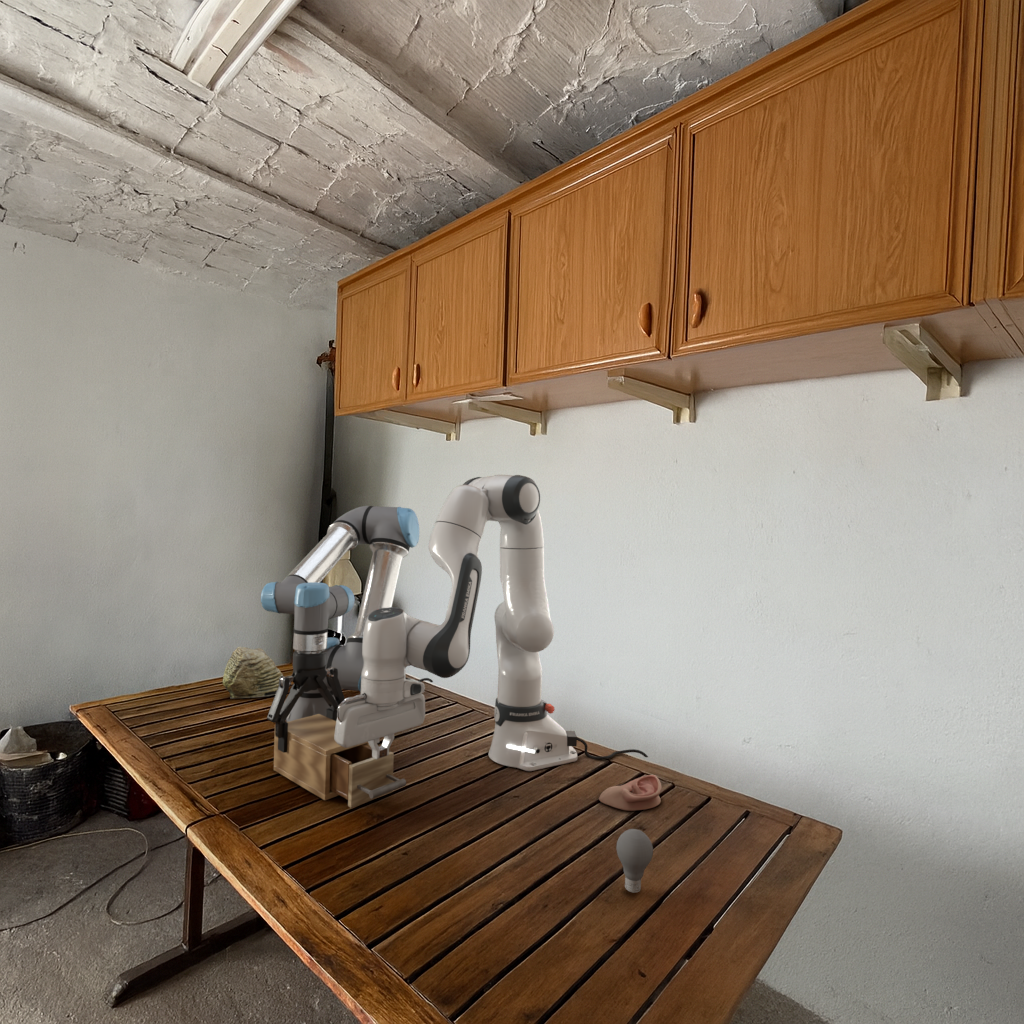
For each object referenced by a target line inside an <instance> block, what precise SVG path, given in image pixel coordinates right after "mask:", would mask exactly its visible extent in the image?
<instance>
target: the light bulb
mask: <svg viewBox="0 0 1024 1024" xmlns="http://www.w3.org/2000/svg"><path fill="white" fill-rule="evenodd" d="M615 849H616V854H617V857H618V859H619V861H620V863H621V865H622V867H623V873H624V874H623V875H624V876H625V878H624V888H625V890H627V891H628V892H630V893H634V894H635V893H639V892H640V891H641V889H642V887H641V886H642V879H643V877H644V875H645V871H646V868H647V867H648V866H649V864H650V863H651V861H652V859H653V855H654V847H653V843H652V841H651V838H649V836H648V835H647V834H646V833H645V832H643V831H642V830H641V829H636V828H629V829H627V830H625V831H623V832H622V833H621V834H620V835H619V837H618V839H617V841H616V847H615Z"/></svg>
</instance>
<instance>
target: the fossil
mask: <svg viewBox="0 0 1024 1024" xmlns="http://www.w3.org/2000/svg"><path fill="white" fill-rule="evenodd" d="M222 676H223V677H222V685H223V687H224V688H225V690H226V691H228V693H229V698H230V699H250V698H264V697H271V696H275V695H276V692H277V690H278V687H279V678H280V676H284V674H283V673H282V672H281V669H279V668H278V667H277V665H276V663H275V662H274V660H273V659H272V658H271V657H270V656H269V655H268V654H267V653H266V652H265V650H264V649H263V648H260V647H258V648H251V647H247V646H246V647H245V646H238V647H237V648H236V649H235V650H233V651H232V653H231V656H230V657H229V659H228V660H227V663H226V666H225V668H224V671H223V675H222Z"/></svg>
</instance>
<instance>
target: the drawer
mask: <svg viewBox="0 0 1024 1024" xmlns="http://www.w3.org/2000/svg"><path fill="white" fill-rule="evenodd" d="M330 755H331V756H330V790H331V791H333V792H335V793H337V794H338V796H340V797H342V798H344V799H345V800H347V807H348V808H350V809H353V808H355V807H358V806H361V805H363V804H365V803H369V802H371V801H373V800H375V799H377V798H381V797H383V796H386V795H388V794H392V793H393V792H394V791H396V790H398V789H401V788H403V787H406V786H407V780H406V779H405V778H398V777H397V776H394V758H395V754H394V752H393V751H389V755H388V756H385V757H382V758H379V759H374V758H373V757H372V748H371V747H369V746H367V745H365V744H362V745H359V746H356V747H353V748H350V749H346V750H343V751H340V752H337V753H334V754H330Z"/></svg>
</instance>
